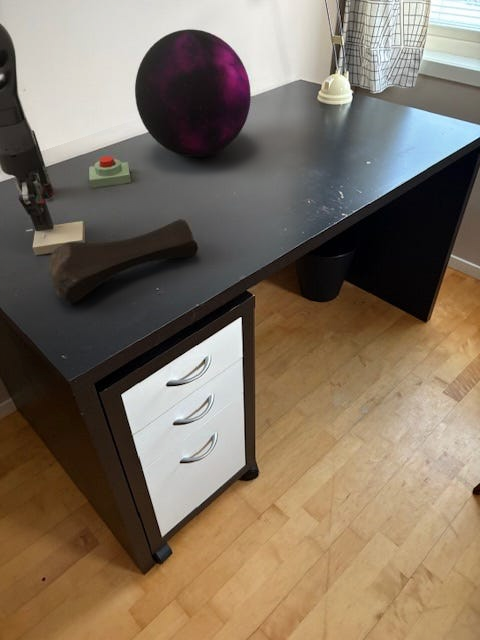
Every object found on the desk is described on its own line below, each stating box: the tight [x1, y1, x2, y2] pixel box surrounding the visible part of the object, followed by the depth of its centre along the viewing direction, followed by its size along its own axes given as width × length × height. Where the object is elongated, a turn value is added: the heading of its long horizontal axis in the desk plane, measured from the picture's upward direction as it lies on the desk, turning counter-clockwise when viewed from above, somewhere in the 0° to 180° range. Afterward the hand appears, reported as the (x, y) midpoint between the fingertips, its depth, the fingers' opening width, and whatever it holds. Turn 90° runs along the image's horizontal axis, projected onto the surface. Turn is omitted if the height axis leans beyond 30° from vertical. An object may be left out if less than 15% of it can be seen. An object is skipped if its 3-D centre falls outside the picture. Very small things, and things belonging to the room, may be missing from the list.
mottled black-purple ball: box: [134, 28, 252, 158], centre depth 125 cm, size 30×30×30 cm
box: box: [88, 158, 132, 189], centre depth 123 cm, size 10×8×4 cm
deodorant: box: [31, 129, 55, 200], centre depth 114 cm, size 6×6×15 cm
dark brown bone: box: [48, 218, 199, 304], centre depth 90 cm, size 11×10×28 cm
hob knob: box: [29, 199, 55, 231], centre depth 100 cm, size 4×2×6 cm, turn 103°
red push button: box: [98, 155, 115, 168], centre depth 121 cm, size 4×4×2 cm
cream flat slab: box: [25, 220, 86, 256], centre depth 102 cm, size 12×11×2 cm
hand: (43, 224), depth 102 cm, fingers closed on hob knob
